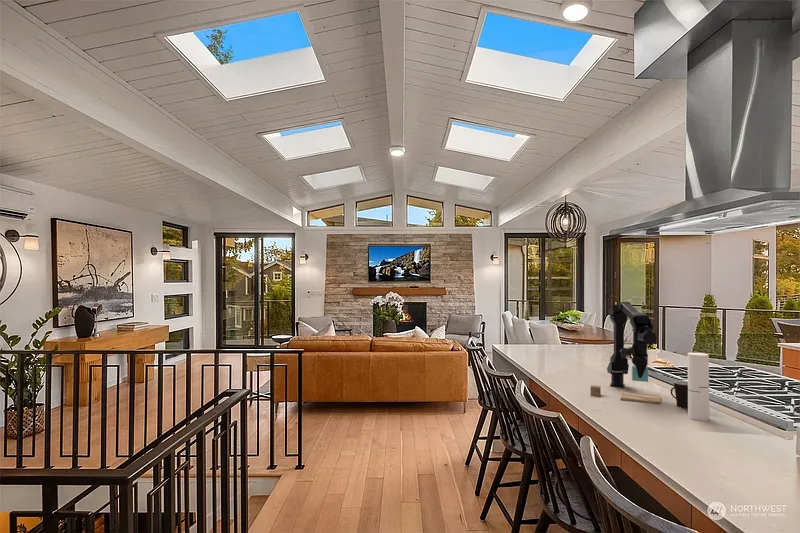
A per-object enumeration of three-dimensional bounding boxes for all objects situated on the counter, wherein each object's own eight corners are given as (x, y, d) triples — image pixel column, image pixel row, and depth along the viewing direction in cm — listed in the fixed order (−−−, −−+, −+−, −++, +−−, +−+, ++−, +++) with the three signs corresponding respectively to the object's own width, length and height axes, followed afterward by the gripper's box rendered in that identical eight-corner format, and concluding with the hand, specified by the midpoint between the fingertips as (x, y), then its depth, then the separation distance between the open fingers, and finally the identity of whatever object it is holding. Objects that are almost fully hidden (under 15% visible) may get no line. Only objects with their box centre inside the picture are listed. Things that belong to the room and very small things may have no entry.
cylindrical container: (712, 421, 196) (711, 355, 197) (691, 420, 198) (691, 355, 198) (705, 416, 203) (704, 352, 204) (685, 415, 205) (684, 352, 205)
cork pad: (622, 393, 242) (622, 391, 242) (660, 397, 235) (660, 395, 235) (620, 400, 229) (620, 398, 229) (660, 404, 222) (660, 402, 222)
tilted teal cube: (632, 377, 237) (632, 364, 237) (648, 379, 234) (648, 366, 234) (632, 380, 231) (632, 367, 231) (648, 381, 228) (648, 368, 228)
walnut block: (591, 393, 242) (591, 385, 242) (600, 394, 240) (600, 385, 241) (590, 395, 239) (590, 386, 239) (599, 396, 237) (599, 387, 237)
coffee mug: (691, 404, 222) (691, 381, 222) (701, 409, 213) (700, 385, 213) (663, 403, 223) (663, 380, 223) (671, 408, 214) (671, 384, 214)
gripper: (621, 338, 245) (621, 371, 244) (619, 343, 228) (619, 378, 228) (647, 340, 240) (647, 373, 239) (647, 345, 223) (647, 381, 223)
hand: (640, 376), depth 232 cm, fingers closed on tilted teal cube, 6 cm apart
